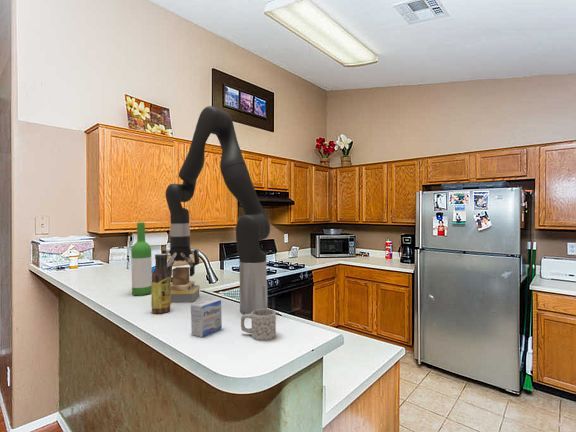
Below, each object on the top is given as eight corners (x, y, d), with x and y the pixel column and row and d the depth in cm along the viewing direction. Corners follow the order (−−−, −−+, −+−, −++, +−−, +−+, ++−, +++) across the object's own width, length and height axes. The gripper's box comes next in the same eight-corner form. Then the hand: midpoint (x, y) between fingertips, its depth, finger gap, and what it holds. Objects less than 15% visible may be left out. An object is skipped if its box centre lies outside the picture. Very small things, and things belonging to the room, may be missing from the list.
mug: (278, 332, 97) (278, 309, 97) (272, 341, 90) (271, 316, 90) (245, 330, 99) (244, 307, 99) (236, 338, 93) (236, 314, 92)
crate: (189, 282, 137) (189, 267, 137) (185, 284, 132) (185, 269, 131) (176, 282, 137) (176, 267, 137) (172, 285, 132) (172, 269, 132)
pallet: (194, 284, 139) (194, 280, 139) (187, 290, 129) (186, 286, 129) (175, 285, 139) (175, 280, 139) (166, 290, 129) (165, 286, 129)
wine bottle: (152, 291, 149) (151, 222, 148) (151, 295, 141) (150, 222, 141) (133, 292, 146) (131, 222, 146) (130, 296, 139) (129, 223, 138)
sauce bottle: (164, 314, 114) (163, 255, 114) (147, 313, 116) (146, 255, 115) (174, 309, 121) (173, 253, 120) (158, 308, 122) (157, 252, 122)
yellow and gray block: (199, 296, 139) (199, 285, 139) (193, 302, 129) (193, 290, 129) (170, 296, 139) (169, 285, 139) (161, 302, 130) (161, 290, 130)
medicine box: (202, 337, 93) (201, 306, 93) (190, 334, 96) (190, 304, 96) (222, 329, 100) (221, 299, 100) (211, 326, 102) (210, 297, 102)
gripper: (200, 234, 137) (201, 274, 138) (165, 234, 138) (166, 274, 138) (195, 235, 130) (195, 278, 130) (158, 235, 130) (158, 278, 130)
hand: (180, 276), depth 134 cm, fingers open, 8 cm apart
